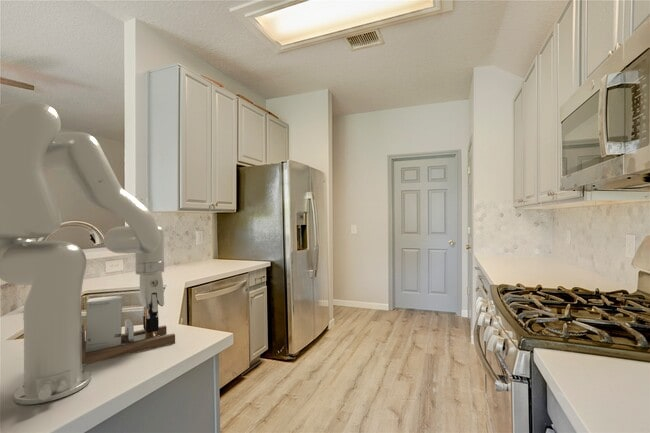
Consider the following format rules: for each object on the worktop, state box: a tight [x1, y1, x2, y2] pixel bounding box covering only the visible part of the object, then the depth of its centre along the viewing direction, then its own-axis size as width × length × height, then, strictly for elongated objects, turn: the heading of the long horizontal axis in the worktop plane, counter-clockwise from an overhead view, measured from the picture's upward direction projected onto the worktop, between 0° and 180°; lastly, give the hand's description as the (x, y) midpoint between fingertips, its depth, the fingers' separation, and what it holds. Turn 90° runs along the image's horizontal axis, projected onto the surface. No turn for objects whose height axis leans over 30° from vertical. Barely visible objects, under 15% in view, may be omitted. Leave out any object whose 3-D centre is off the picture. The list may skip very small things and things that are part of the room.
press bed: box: [82, 321, 176, 366], centre depth 92 cm, size 12×24×8 cm, turn 129°
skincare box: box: [85, 295, 123, 353], centre depth 90 cm, size 8×6×15 cm
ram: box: [124, 305, 158, 344], centre depth 95 cm, size 7×8×11 cm
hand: (150, 329), depth 97 cm, fingers closed on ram, 3 cm apart
